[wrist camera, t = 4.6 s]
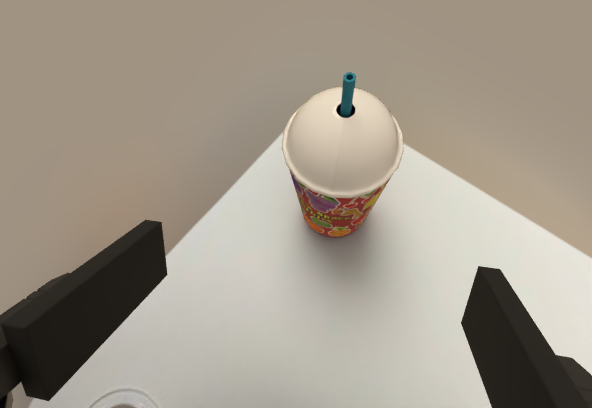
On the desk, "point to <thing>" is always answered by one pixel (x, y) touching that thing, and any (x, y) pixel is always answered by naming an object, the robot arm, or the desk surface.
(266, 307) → the desk surface
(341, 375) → the desk surface
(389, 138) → the smoothie
